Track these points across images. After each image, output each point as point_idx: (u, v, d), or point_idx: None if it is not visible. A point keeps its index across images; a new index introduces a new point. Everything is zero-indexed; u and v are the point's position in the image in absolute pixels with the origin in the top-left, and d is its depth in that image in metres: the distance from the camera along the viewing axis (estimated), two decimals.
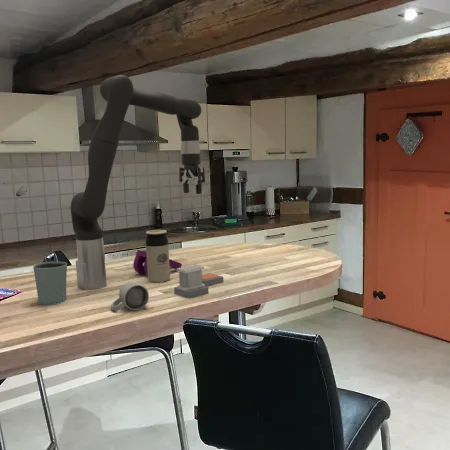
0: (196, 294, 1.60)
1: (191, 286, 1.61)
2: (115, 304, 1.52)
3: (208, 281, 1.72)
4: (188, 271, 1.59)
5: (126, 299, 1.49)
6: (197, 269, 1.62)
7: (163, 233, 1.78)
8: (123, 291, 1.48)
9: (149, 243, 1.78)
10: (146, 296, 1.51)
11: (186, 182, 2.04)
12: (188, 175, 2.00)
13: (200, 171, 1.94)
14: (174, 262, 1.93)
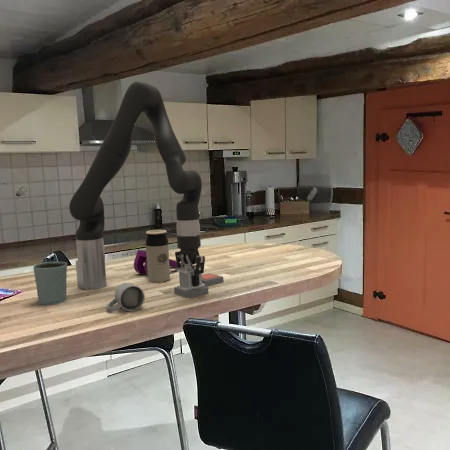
0: (196, 294, 1.60)
1: (191, 286, 1.61)
2: (111, 305, 1.51)
3: (208, 281, 1.72)
4: (188, 271, 1.59)
5: (122, 300, 1.48)
6: None
7: (163, 233, 1.78)
8: (119, 292, 1.47)
9: (149, 243, 1.78)
10: (142, 297, 1.50)
11: None
12: (186, 260, 1.62)
13: (200, 262, 1.57)
14: (174, 262, 1.93)
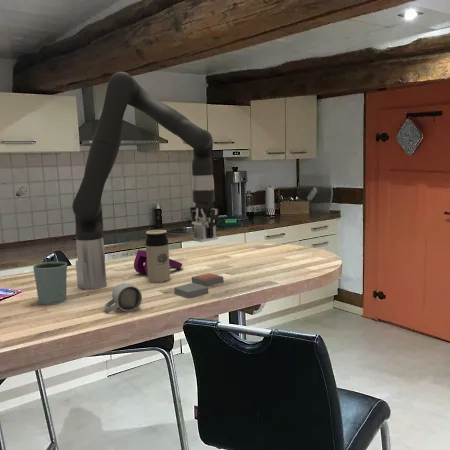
0: (196, 294, 1.60)
1: (206, 238, 1.72)
2: (108, 305, 1.51)
3: (208, 281, 1.72)
4: (203, 223, 1.70)
5: (119, 300, 1.48)
6: None
7: (163, 233, 1.78)
8: (116, 293, 1.47)
9: (149, 243, 1.78)
10: (139, 297, 1.50)
11: None
12: (201, 213, 1.73)
13: (214, 214, 1.68)
14: (174, 262, 1.94)
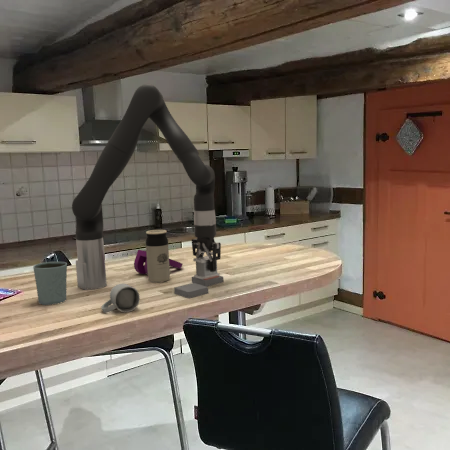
0: (196, 294, 1.60)
1: (207, 275, 1.74)
2: (106, 306, 1.50)
3: (208, 281, 1.72)
4: (204, 261, 1.72)
5: (117, 301, 1.48)
6: None
7: (163, 233, 1.78)
8: (114, 293, 1.47)
9: (149, 243, 1.78)
10: (137, 298, 1.49)
11: (201, 256, 1.78)
12: (202, 248, 1.75)
13: (216, 248, 1.69)
14: (175, 262, 1.94)
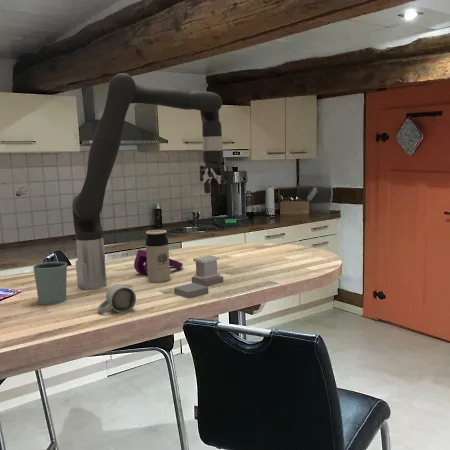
0: (196, 294, 1.60)
1: (207, 275, 1.74)
2: (102, 306, 1.50)
3: (208, 281, 1.72)
4: (204, 261, 1.72)
5: (113, 301, 1.47)
6: (213, 259, 1.75)
7: (163, 233, 1.78)
8: (110, 294, 1.46)
9: (149, 243, 1.78)
10: (133, 298, 1.49)
11: (207, 181, 1.88)
12: (210, 174, 1.84)
13: (224, 169, 1.79)
14: (175, 262, 1.94)
